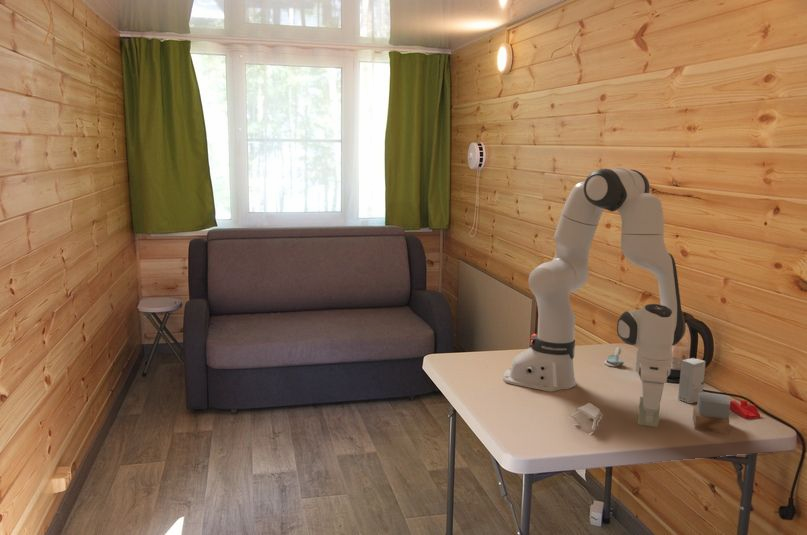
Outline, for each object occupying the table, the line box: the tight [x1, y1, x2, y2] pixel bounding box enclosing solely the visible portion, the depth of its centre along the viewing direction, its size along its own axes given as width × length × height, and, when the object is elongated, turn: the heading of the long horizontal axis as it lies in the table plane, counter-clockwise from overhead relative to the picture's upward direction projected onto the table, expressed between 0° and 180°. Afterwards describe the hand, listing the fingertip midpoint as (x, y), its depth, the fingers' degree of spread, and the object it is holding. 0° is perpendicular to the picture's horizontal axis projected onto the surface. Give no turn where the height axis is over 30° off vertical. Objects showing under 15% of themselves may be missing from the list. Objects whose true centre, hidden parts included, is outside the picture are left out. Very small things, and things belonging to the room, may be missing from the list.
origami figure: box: [569, 401, 604, 436], centre depth 179 cm, size 12×8×5 cm
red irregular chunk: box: [729, 399, 761, 420], centre depth 191 cm, size 6×5×3 cm
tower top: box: [696, 392, 731, 420], centre depth 182 cm, size 7×7×4 cm
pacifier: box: [603, 346, 625, 367], centre depth 231 cm, size 7×6×6 cm
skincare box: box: [677, 357, 707, 404], centre depth 200 cm, size 6×4×12 cm
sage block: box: [637, 396, 661, 428], centre depth 183 cm, size 5×5×6 cm
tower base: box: [692, 405, 730, 435], centre depth 182 cm, size 8×8×4 cm
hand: (648, 414), depth 184 cm, fingers open, 8 cm apart
